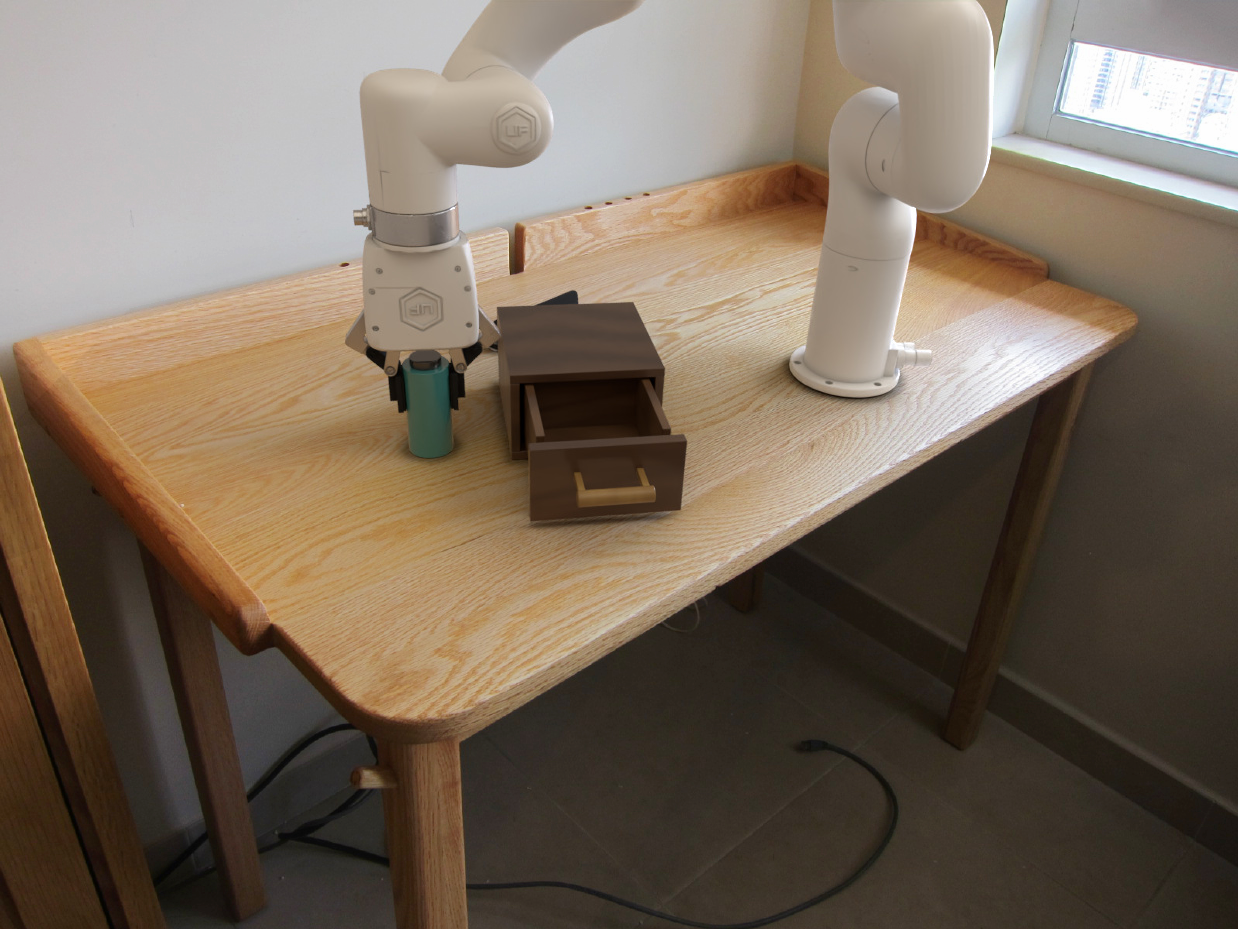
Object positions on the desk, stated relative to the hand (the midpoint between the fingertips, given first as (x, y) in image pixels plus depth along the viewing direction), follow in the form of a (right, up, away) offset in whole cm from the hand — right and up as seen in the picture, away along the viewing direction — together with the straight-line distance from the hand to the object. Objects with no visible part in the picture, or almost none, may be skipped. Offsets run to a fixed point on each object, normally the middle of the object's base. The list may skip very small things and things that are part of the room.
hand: (428, 403), depth 95 cm
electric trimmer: (+8, +11, +26) cm, 29 cm away
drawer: (+17, -8, -4) cm, 19 cm away
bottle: (0, -4, +2) cm, 5 cm away
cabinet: (+14, -1, +8) cm, 16 cm away
